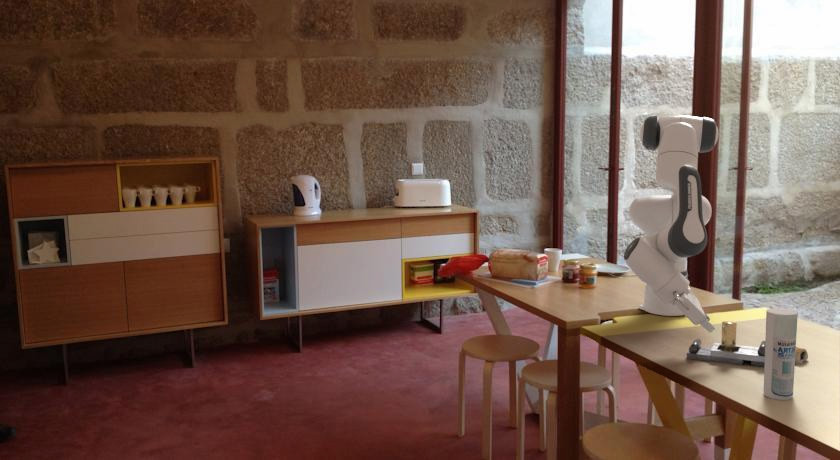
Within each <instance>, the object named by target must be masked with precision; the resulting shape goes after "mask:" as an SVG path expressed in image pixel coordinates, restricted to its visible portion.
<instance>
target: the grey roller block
mask: <svg viewBox="0 0 840 460" xmlns="http://www.w3.org/2000/svg"><path fill="white" fill-rule="evenodd" d="M686 359H690V360H696V361H697V360H698V361H706V362H714V363H722V364H730V365H737V366H743V365H744V362H745V361H750V362H751V363H750V365H751V366H755V367H763V368H764V366H765V340H762V341H760V345H759V347H758V346H751V345H750V346H748V345H743V344H741V345H739V344H736V352H734V351H725V350H721V342H714V343H713V345H712V347H711V346H702V340H701V339H700V338H695V339H694V340H693V342H692V343H691V345H690V346H689V348H688V350H687V352H686Z"/></svg>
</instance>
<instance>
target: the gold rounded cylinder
mask: <svg viewBox="0 0 840 460" xmlns="http://www.w3.org/2000/svg"><path fill="white" fill-rule="evenodd" d="M737 324H738V323H737V322H736V321H733V320H732V321H731V320H723V321H721V341H720V343H721V350H725V351H734V352H736V345H737Z"/></svg>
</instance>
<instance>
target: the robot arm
mask: <svg viewBox="0 0 840 460" xmlns="http://www.w3.org/2000/svg"><path fill="white" fill-rule="evenodd" d="M719 134H720V133H719V128H718V126H717V122H716V121H715V120H714V119H713V118H710V117H706V116H703V117H700V116H694V115H687V114H686V115H683V114H681V115H661V116H659V115H658V114H657V115H650V116H648V117H647V118H646V119H644V121H643V123H642V125H641V128H640V131H639V137H640V141H641V144H642V146H643V147H644V148H645V149H647V150H649V151H654V152H655V151H657V156H656V167H655V170H656V171H655V179H656V182H657V184H658V185H659V186H660V187H661V188H663V189H665V190H667V191H669V192H671V193H672V194H647V195H642V196H638V197H635V198H634V199H633V201H631V204H630V206H629V217H630V220H631V222H632V223H633V224H634V226H636V227H637V228H638V229H640V230H641V231H642V233H644V235H645V236H643V237H642V236H637V237H636V238H634V239H633V240H632V241H631V243H630V244H629V245H628V246H627V247H626V248H625V251H624V253H623V261H624V263H625V264H626V265H627V267H628V268H629V270H630V271H631V272H632V273H633V274H634V275H635V276H636V277H637V278H638V279H639V281H641V282H643V283H645V285H644V295H643V296H644V297H643V303H641V304H640V305H639V306H638V309H639V310H643V311H645V312H647V313H650V314H654V315H658V316H666V317H674V316H675V317H676V316H677V317H678V316H680V317H681V316H685V317H686V318H687V320H689V321H690V322H691V323H692V324H693V325H694V326H698V325H700V326H701V327H702V328H704V329H705V330H706V331H707V332H708V333H712V332H713V331H714V330H715V326H714V324H712V323H711V322H710V320H711V318H710V316H709V315H708V314H707V313H706V312H705V311H704V309H703V308H702V305H701V303H700V301H699V299H698V298H697V296H696V295H695V294H694V293H693V291H692V289H691V288H690V280H689V279H688V277H689V274H688V269H687V258H690V257H694V256H696V255H699V254H701V253H702V252H703V251H704V250H705V248H706V247H707V244H708V233H707V229H706V225H707V224H708V223H709V222H710V220H711V217H712V212H713V211H712V205H711V203H710V201H709V200H708V199H707V198H706V197H705V196H704V195H702V194H703V192H702V181H701V180H702V179H701V176H700V173H699V171H698V163H699V153H700V154H703V153H708V152H709V153H710V152H711V151H712V150H713V149H714V148H715V146H716V144H717V143H718V140H719Z"/></svg>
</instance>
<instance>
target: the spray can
mask: <svg viewBox="0 0 840 460" xmlns="http://www.w3.org/2000/svg"><path fill="white" fill-rule="evenodd" d="M765 315H766V316H765V337H764V338H765V340H764V341H765V366H764V367H763V368H764V369H763V370H764V372H763V374H764V375H763V395H764V396H765V397H767V398H769V399H772V400H777V401H779V400H781V401H787V400H792V399H793V397H794V384H795V382H794V381H795V366H796V364H795V351H796V347H797V334H798V333H797V332H798V331H797V330H798V317H799V316H798V312H797V310H793V309H791V308H784V307H773V308H768V309H767V310H766V311H765Z"/></svg>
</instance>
